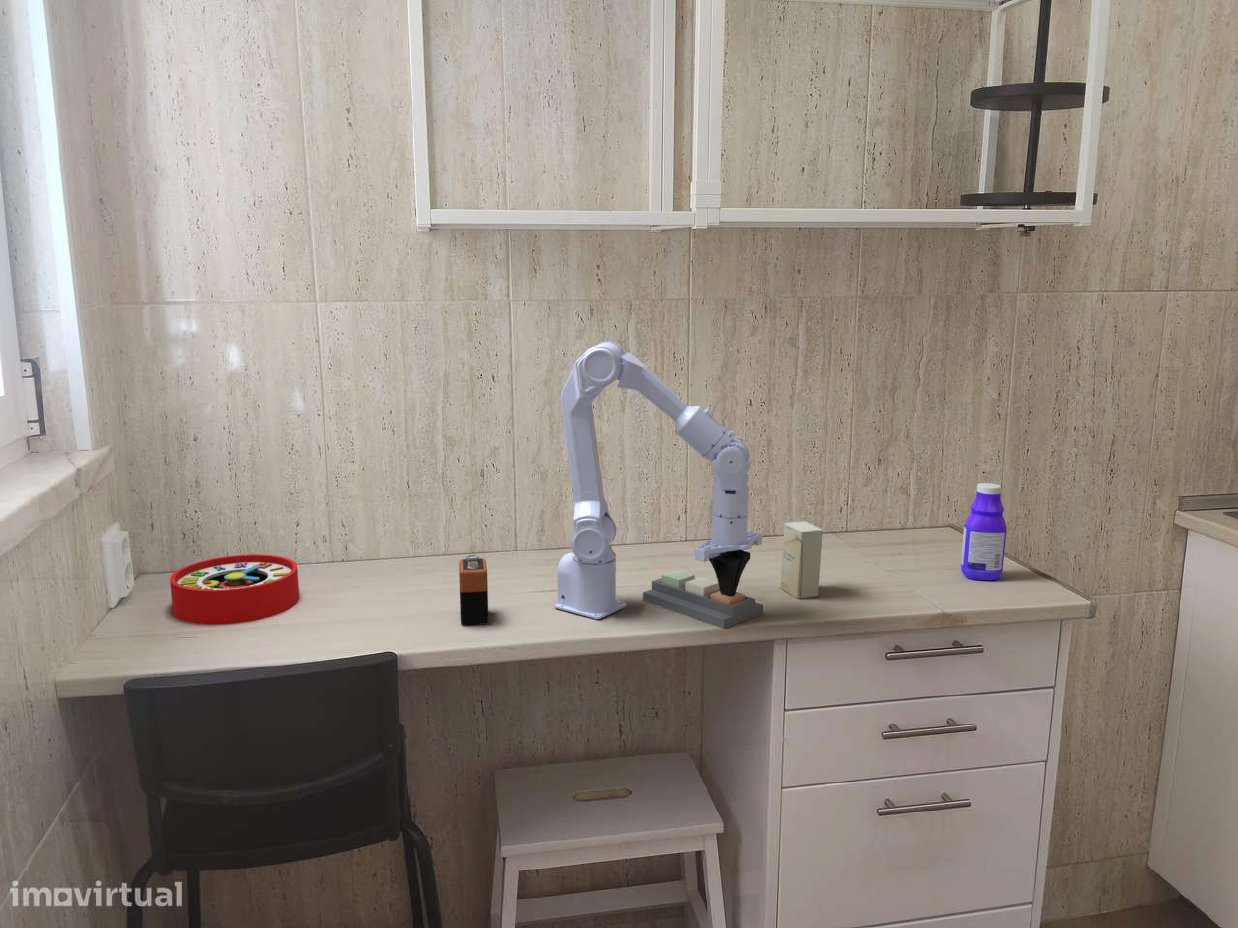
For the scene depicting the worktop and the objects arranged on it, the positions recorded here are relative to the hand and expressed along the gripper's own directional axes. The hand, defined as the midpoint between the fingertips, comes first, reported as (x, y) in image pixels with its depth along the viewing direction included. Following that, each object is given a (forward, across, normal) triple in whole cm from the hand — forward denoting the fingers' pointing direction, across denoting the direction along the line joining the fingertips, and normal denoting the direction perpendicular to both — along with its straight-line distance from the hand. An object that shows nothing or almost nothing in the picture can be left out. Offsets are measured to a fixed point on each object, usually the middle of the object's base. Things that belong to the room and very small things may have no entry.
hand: (727, 594), depth 161 cm
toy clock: (+4, -56, +61) cm, 83 cm away
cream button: (+1, 0, +5) cm, 6 cm away
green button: (+1, 0, +11) cm, 11 cm away
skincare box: (+4, +18, -2) cm, 18 cm away
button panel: (+3, 0, +6) cm, 7 cm away
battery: (+4, -31, +28) cm, 42 cm away
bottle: (+4, +50, -19) cm, 53 cm away
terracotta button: (+1, 0, 0) cm, 2 cm away
